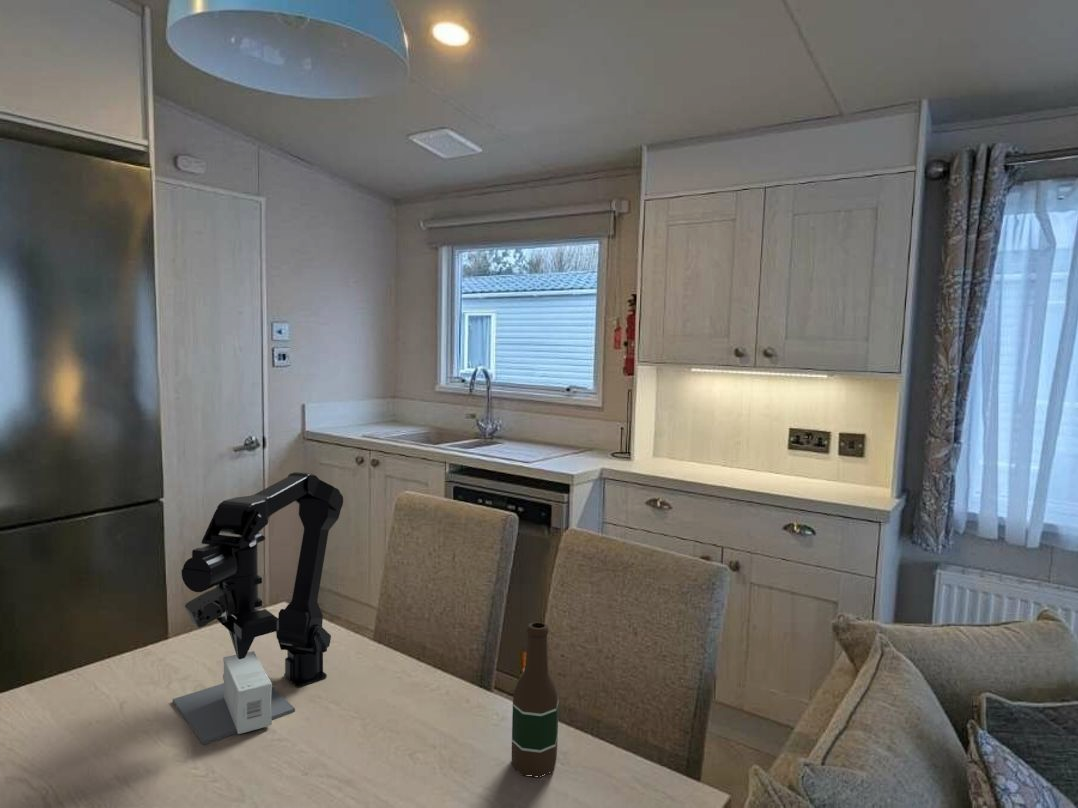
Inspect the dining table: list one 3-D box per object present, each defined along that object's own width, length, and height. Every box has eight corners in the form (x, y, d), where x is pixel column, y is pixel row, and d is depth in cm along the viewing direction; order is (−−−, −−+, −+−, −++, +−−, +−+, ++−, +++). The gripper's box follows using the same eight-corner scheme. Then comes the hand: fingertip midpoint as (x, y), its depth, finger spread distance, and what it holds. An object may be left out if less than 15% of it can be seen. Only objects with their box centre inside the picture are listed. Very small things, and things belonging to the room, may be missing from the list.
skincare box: (272, 683, 119) (256, 647, 131) (235, 692, 116) (222, 654, 128) (272, 728, 120) (256, 688, 132) (235, 737, 117) (222, 696, 129)
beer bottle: (541, 785, 106) (545, 639, 104) (501, 768, 111) (504, 627, 108) (566, 760, 113) (570, 622, 111) (527, 744, 117) (530, 611, 115)
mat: (257, 675, 139) (257, 672, 139) (294, 711, 126) (294, 708, 126) (172, 702, 128) (172, 699, 128) (203, 744, 115) (203, 741, 115)
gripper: (173, 568, 118) (175, 653, 120) (209, 598, 105) (211, 694, 106) (238, 555, 126) (239, 635, 128) (279, 582, 113) (280, 672, 114)
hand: (241, 658), depth 119 cm, fingers closed
